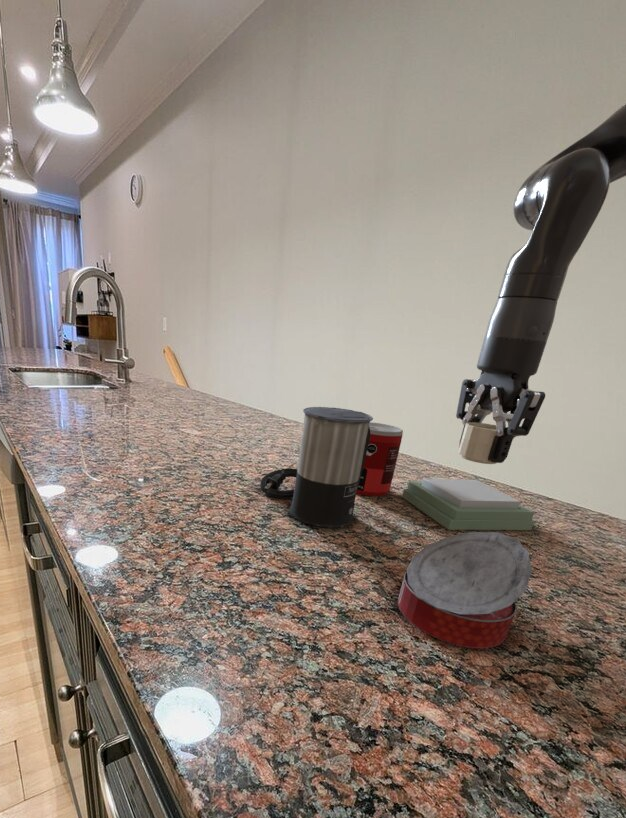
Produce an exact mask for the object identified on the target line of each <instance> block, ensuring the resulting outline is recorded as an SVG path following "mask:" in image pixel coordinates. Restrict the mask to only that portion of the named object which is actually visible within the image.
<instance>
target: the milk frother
mask: <svg viewBox="0 0 626 818" xmlns="http://www.w3.org/2000/svg"><path fill="white" fill-rule="evenodd" d="M302 412H303V413H304V417H303V425H302V432H301V433H302V434H301V439H300V446H299V447H300V448H299V455H298V462H297V468H292V467H289V468H287V467H286V468H280V469H276V470H273V471H271V472H268V473H266V474H265V475H264V476H263V477H262V478H261V479H260V482H259V487H260V489H261V491H262V492H263V493H265V494H266V495H267V496H270V497H273V498H277V499H290V498H292V500H291V505H290V507H289V508H288V511H289V514H290V515H291V517H293V518H294V519H295V520H297V521H299V522H301V523H303V524H306V525H310V526H313V527H317V528H318V527H320V528H325V529H340V528H344V527H348V526H350V525H351V524H352V523H353V522H354V511H355V501H356V495H357V494H356V491H357V488H358V486H359V482H360V478H361V474H362V470H363V466H364V462H365V457H366V453H367V449H368V445H369V441H370V427H369V423H370V422H372V421H373V419H374V417H373V416H372V415H370V414H368V413H366V412H363V411H359V410H358V411H357V410H352V409H348V408H347V409H346V408H341V407H328V406H311V407H306V408H303V409H302ZM286 478H295V484H294V488H293V489H288V490H279V488H280V487H281V486H282V484H283V483H284V481H285V480H286Z"/></svg>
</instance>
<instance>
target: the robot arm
mask: <svg viewBox="0 0 626 818" xmlns="http://www.w3.org/2000/svg"><path fill="white" fill-rule="evenodd" d="M624 177H626V103H625V104H623V105H622V106H621V107H619V108H618V109H616V110H615V112H613V113H612V114H611V115H610V116H609V117H607V118H606V119H605V120H604V121H603V122H602V123H601V124H599V125H598V126H596V128H594V129H593V130H592V131H591V132H589V133H588V134H586V135H584V136H583V137H581V138H580V139H579V140H577V141H575V142H573V143H572V144H571V145H569V146H568V147H567V148H565V149H563V150H562V151H561V152H559V153H558V154H556V155H555V156H553V157H552V158H550V159H549V160H548V161H546V162H545V163H543V164H542V165H541V166H539V167H538V168H537V169H536V170H534V171H533V172H532V173H531V174H530V175H529V176H528V177H527V178H525V180H524V182H523V183H522V184H521V186H520V188H519V189H518V191H517V193H516V195H515V198H514V202H513V210H512V211H513V217H514V219H515V221H516V223H517V224H518V225H519V226H520V227H521V228H523V229H525V230H527V231H531V233H530V236H529V238H528V240H527V241H526V243H525V244H524V245H523V246H522V247H521V248H519V249H518V250H517V251H515V252H514V253H513V254H512V255H511V256H510V258H509V260H508V262H507V265H506V267H505V270H504V273H503V278H502V281H501V285H500V287H499V292H498V296H497V299H496V301H495V305H494V307H493V309H492V312H491V314H490V317H489V320H488V322H487V323H488V325H487V327H486V331H485V335H484V338H483V342H482V345H481V348H480V352H479V356H478V360H477V363H476V368H477V369H478V371H481V372H480V375H479V376H478V378H477V379H468V378H465V379H463V380H462V383H461V388H460V392H459V398H458V404H457V408H456V414H455V417H456V418H457V420H459V419H460V420H461V423H462V425H463V428H462V431H461V435H460V439H459V445H458V448H459V447H460V443H461V440H462V436H463V432H464V429H465V425H466V423H468V422H477V423H483V421H484V420H485V418H486V417H488V416H489V415H491V414H492V419H493V421H495V425H496V434H497V436H495V437H494V440H493V444H492V447H491V450H490V453H489V456H488V461H490V462H493V463H496V464H502V463H504V462H505V461H506V459H507V458H508V455H509V452H510V449H511V446H512V443H513V440H514V439H515V438H517V437H522V436H523V437H526V436H528V435H529V433H530V432H531V430H532V427H533V425H534V422H535V420H536V419H537V417H538V414H539V412H540V409H541V407H542V405H543V403H544V401H545V398H546V393H545V391H536V390H532V389H530V388H529V381H530V377H531V376H532V377H533V376H535V375H536V374H537V373H538V370H539V367H540V364H541V361H542V357H543V354H544V352H545V349H546V346H547V343H548V340H549V336H550V333H551V330H552V328H553V324H554V322H555V315H556V310H557V306H558V301H559V299H560V296H561V292H562V289H563V286H564V284H565V281H566V277H567V274H568V272H569V271H568V270H569V267H570V265H571V263H572V261H573V259H574V257H575V256H576V255H577V253H578V252H579V250H580V248H581V247H582V245H583V244H584V241H585V239H586V238H587V236H588V235H589V232H590V231H591V229H592V227H593V225H594V224H595V221H596V220H597V218H598V216H599V214H600V212H601V210H602V208H603V206H604V204H605V201H606V198H607V196H608V193H609V189H610V184H612V183H614V182H617V181H618V180H620V179H622V178H624ZM467 404H468V405H467ZM466 406H467V410H466ZM506 422H507V424H506Z"/></svg>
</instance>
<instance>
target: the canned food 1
mask: <svg viewBox="0 0 626 818" xmlns="http://www.w3.org/2000/svg"><path fill="white" fill-rule="evenodd" d="M369 427H370V441H369V445H368V449H367V453H366V457H365V462H364V466H363V470H362V474H361V478H360V482H359V486H358V488H357V491H356V495H361V496H365V497H366V496H367V497H385V496H387V495H388V493H389V492H390V490H391V487H392V483H393V480H394V479H393V478H394V474H395V469H396V465H397V461H398V457H399V452H400V449H401V445H402V439H403V436H404V430H403V429H401V428H400V427H398V426H394V425H390V424H387V423H386V424H385V423H380V422H372V421H370V423H369Z"/></svg>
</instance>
